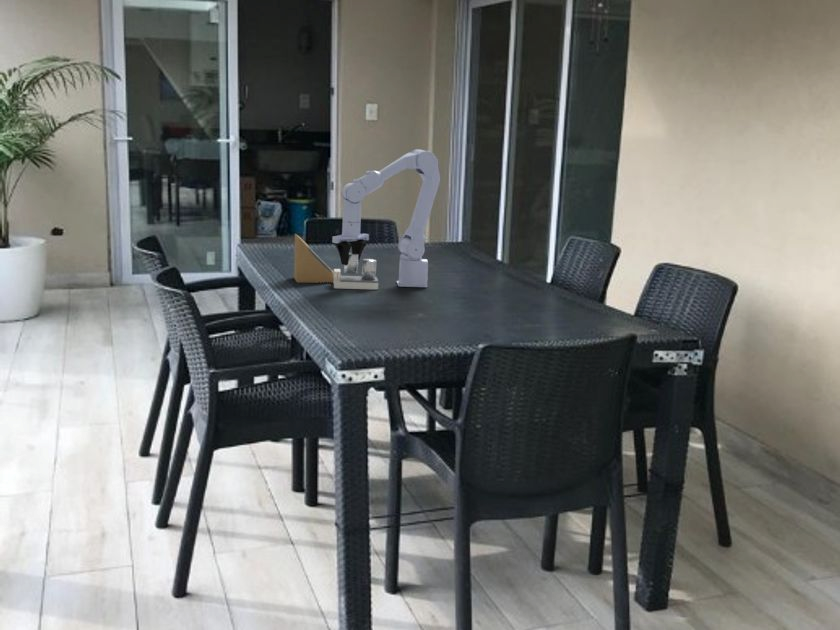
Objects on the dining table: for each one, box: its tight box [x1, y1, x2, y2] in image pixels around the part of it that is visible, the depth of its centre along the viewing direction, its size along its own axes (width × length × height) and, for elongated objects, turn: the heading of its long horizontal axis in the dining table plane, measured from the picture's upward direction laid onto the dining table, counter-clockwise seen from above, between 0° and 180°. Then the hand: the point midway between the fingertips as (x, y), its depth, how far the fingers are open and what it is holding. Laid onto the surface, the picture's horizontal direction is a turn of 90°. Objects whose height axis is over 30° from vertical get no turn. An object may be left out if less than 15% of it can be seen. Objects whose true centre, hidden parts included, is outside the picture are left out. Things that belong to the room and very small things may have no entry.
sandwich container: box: [293, 233, 334, 284], centre depth 287 cm, size 9×15×15 cm, turn 105°
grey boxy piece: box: [333, 268, 379, 290], centre depth 281 cm, size 14×9×5 cm, turn 97°
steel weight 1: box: [343, 252, 359, 275], centre depth 280 cm, size 4×4×6 cm
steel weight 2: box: [361, 258, 377, 280], centre depth 281 cm, size 4×4×6 cm
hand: (350, 263), depth 280 cm, fingers closed on steel weight 1, 4 cm apart
